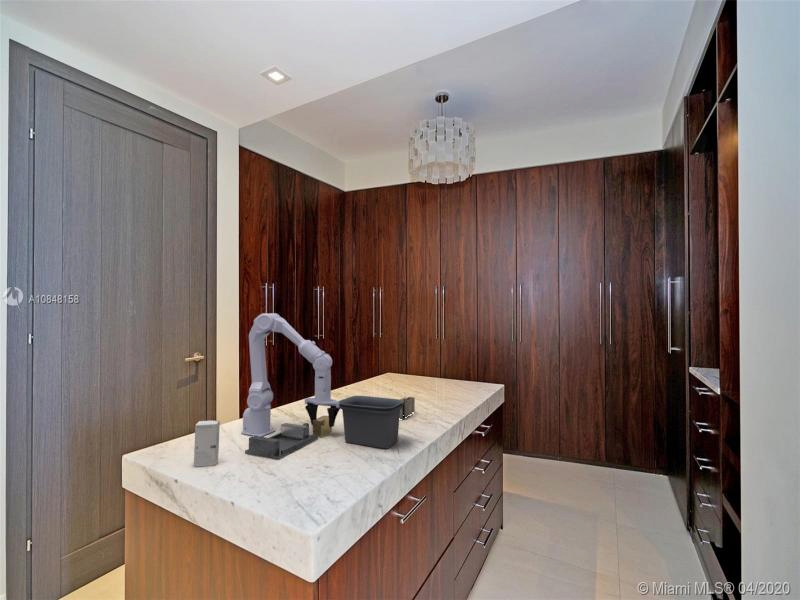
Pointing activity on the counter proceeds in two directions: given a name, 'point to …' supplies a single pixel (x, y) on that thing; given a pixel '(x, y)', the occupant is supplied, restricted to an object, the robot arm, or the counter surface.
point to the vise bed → (276, 445)
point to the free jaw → (295, 430)
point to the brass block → (321, 426)
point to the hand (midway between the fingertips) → (322, 425)
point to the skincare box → (206, 443)
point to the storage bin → (371, 420)
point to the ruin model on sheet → (407, 407)
